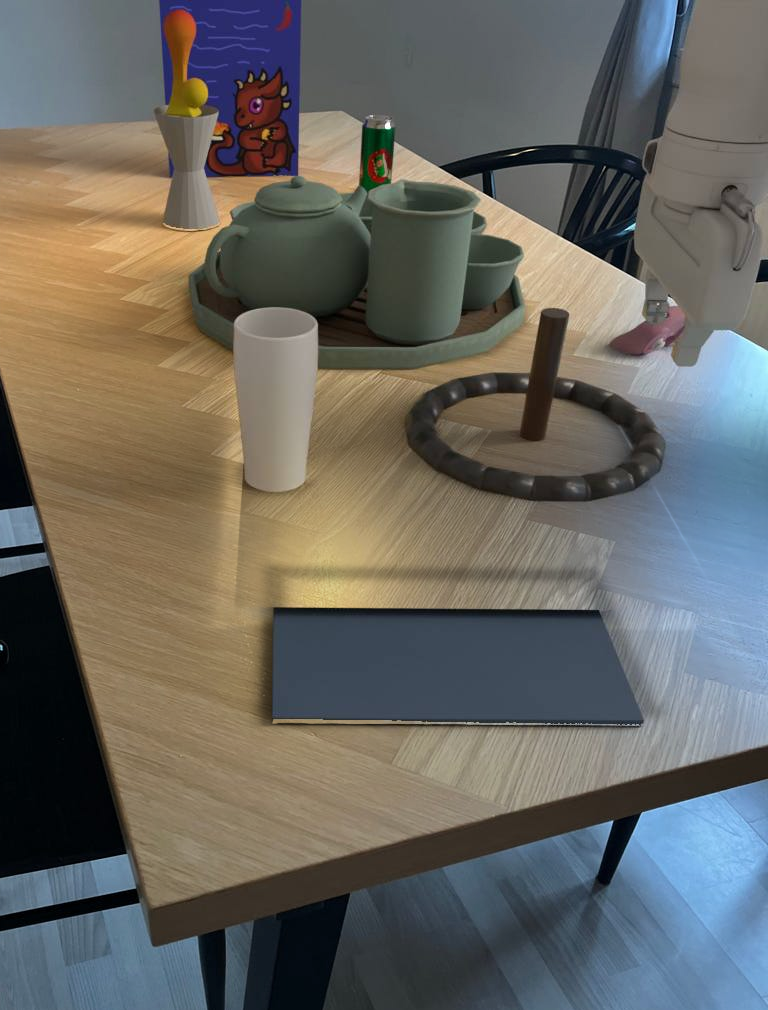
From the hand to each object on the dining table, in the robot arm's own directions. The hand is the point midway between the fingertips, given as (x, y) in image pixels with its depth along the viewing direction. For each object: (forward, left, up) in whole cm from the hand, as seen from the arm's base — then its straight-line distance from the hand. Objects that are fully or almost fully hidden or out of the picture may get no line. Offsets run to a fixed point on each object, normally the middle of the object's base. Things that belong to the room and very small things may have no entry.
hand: (666, 340), depth 86 cm
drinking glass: (+34, +8, -11) cm, 37 cm away
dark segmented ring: (+10, 0, -9) cm, 14 cm away
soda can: (+19, -81, -11) cm, 84 cm away
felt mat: (+22, +30, -11) cm, 39 cm away
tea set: (+25, -34, -11) cm, 44 cm away
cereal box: (+42, -98, -11) cm, 107 cm away
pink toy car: (-8, -22, -11) cm, 26 cm away
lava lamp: (+47, -69, -11) cm, 84 cm away
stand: (+10, 0, -11) cm, 15 cm away
